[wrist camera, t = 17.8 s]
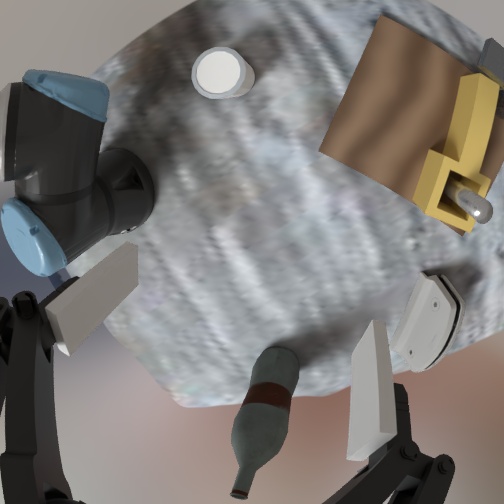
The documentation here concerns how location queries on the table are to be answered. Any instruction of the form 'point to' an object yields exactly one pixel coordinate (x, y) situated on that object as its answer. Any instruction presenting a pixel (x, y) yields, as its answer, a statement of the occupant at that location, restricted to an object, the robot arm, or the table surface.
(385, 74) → the board
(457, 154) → the link
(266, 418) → the bottle
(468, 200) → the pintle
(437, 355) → the white d-shaped block
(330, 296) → the table surface
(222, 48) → the white cylinder
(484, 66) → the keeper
